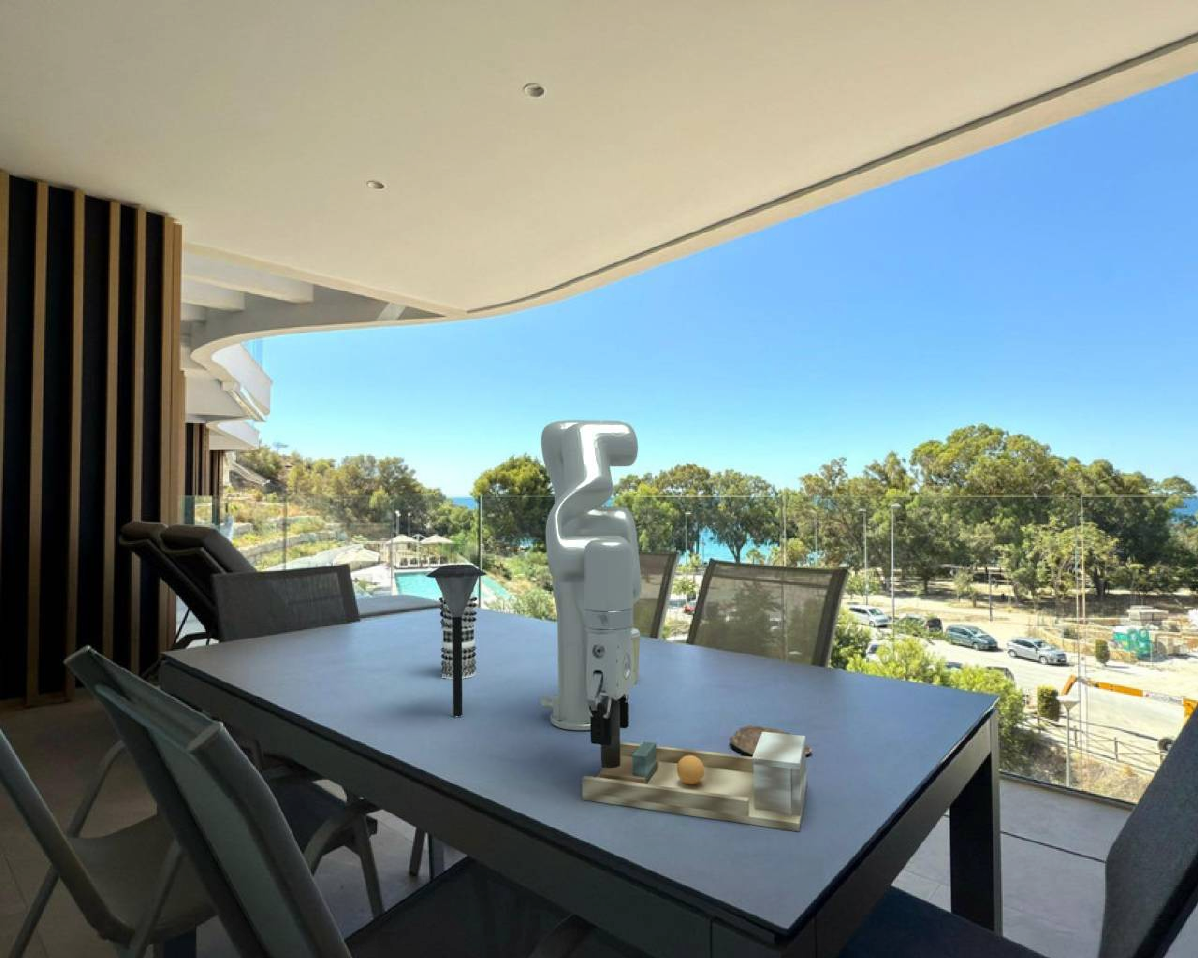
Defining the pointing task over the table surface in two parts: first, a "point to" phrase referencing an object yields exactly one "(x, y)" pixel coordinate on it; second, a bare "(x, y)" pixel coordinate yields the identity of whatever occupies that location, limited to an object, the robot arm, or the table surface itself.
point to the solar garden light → (457, 614)
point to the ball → (690, 769)
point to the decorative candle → (467, 639)
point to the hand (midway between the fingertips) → (610, 734)
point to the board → (720, 784)
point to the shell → (752, 739)
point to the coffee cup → (636, 650)
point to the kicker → (624, 766)
